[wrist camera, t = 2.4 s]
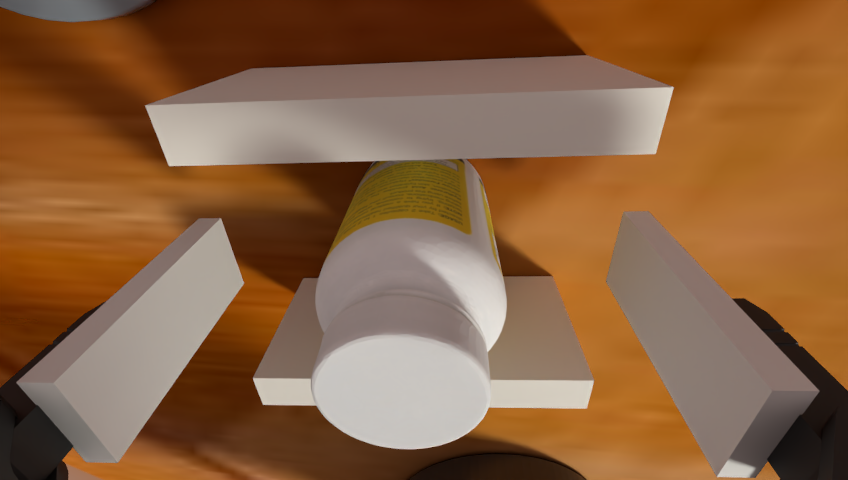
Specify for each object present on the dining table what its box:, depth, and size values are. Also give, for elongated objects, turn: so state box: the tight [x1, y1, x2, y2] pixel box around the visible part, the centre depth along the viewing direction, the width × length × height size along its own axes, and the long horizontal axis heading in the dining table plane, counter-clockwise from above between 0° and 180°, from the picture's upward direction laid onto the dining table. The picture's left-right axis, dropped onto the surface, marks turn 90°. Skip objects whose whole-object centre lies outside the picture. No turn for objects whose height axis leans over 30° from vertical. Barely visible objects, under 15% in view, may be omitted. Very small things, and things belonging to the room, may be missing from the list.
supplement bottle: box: [311, 159, 507, 449], centre depth 13 cm, size 5×5×10 cm
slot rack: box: [145, 55, 674, 409], centre depth 14 cm, size 12×11×6 cm
